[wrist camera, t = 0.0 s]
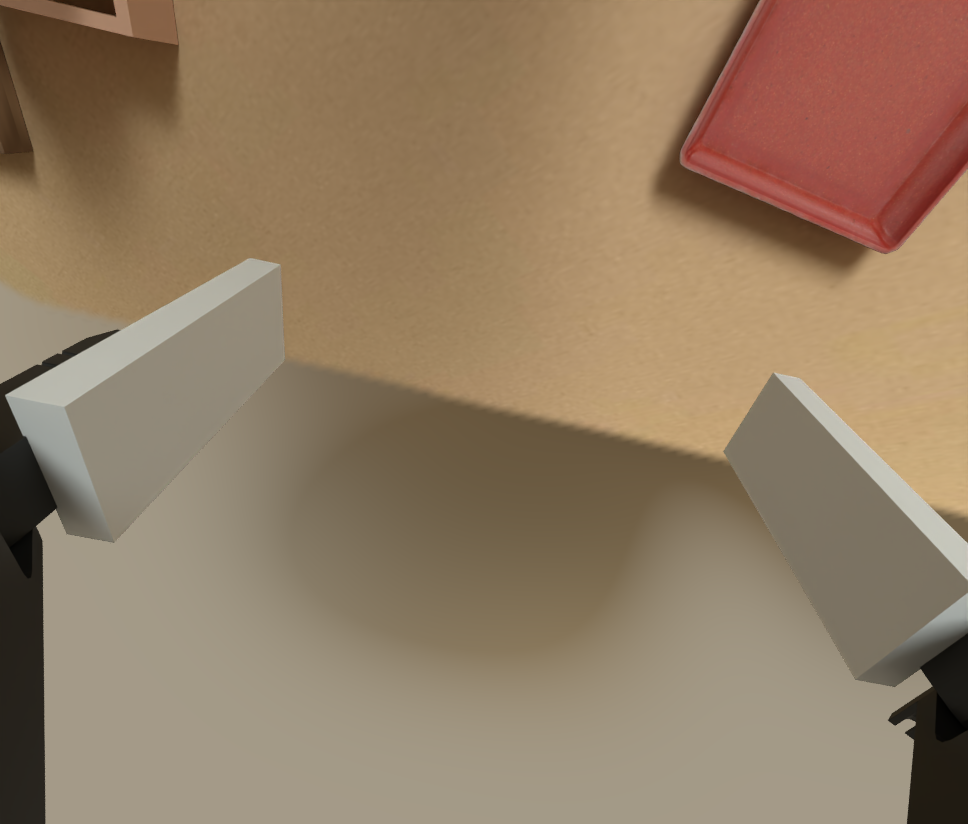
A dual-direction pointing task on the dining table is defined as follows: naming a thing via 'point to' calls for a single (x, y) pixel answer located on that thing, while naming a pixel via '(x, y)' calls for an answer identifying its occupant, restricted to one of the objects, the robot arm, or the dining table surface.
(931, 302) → the dining table surface
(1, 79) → the tray
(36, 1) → the holder
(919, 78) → the plant saucer
